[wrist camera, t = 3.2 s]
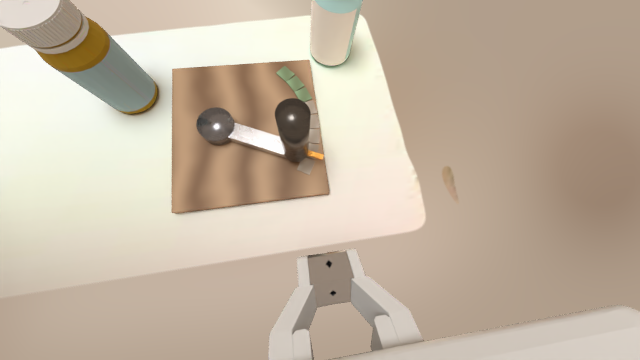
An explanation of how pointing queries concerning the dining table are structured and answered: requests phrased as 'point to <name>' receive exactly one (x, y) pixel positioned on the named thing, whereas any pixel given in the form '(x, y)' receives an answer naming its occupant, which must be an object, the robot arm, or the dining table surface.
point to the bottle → (80, 51)
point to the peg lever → (290, 124)
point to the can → (333, 29)
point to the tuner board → (233, 158)
